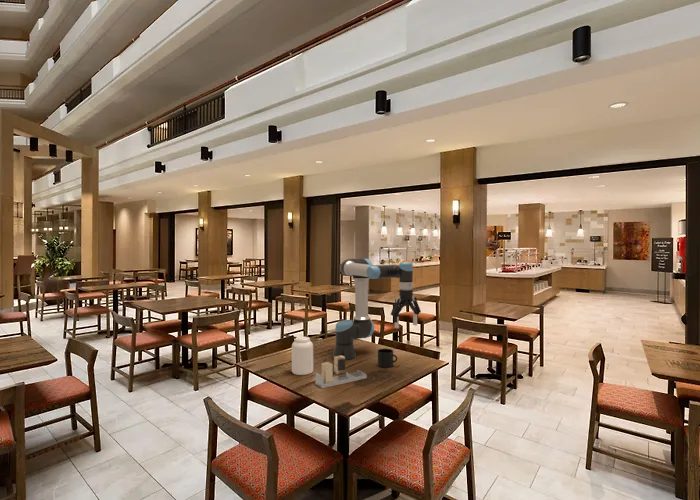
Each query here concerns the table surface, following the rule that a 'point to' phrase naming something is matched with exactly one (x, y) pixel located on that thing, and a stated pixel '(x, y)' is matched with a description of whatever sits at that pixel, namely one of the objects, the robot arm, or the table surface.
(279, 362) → the table surface
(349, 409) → the table surface
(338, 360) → the beige upright block
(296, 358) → the white jar
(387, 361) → the mug
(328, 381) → the rail
